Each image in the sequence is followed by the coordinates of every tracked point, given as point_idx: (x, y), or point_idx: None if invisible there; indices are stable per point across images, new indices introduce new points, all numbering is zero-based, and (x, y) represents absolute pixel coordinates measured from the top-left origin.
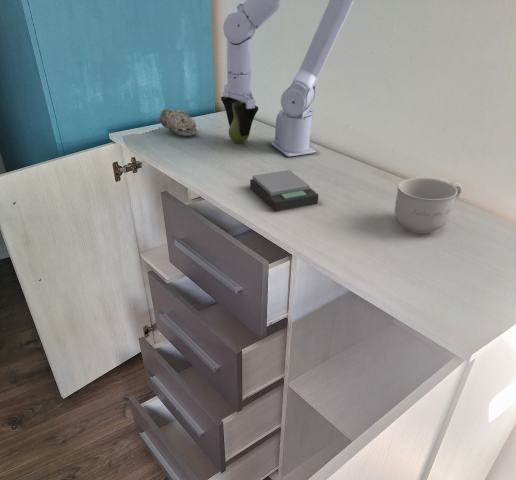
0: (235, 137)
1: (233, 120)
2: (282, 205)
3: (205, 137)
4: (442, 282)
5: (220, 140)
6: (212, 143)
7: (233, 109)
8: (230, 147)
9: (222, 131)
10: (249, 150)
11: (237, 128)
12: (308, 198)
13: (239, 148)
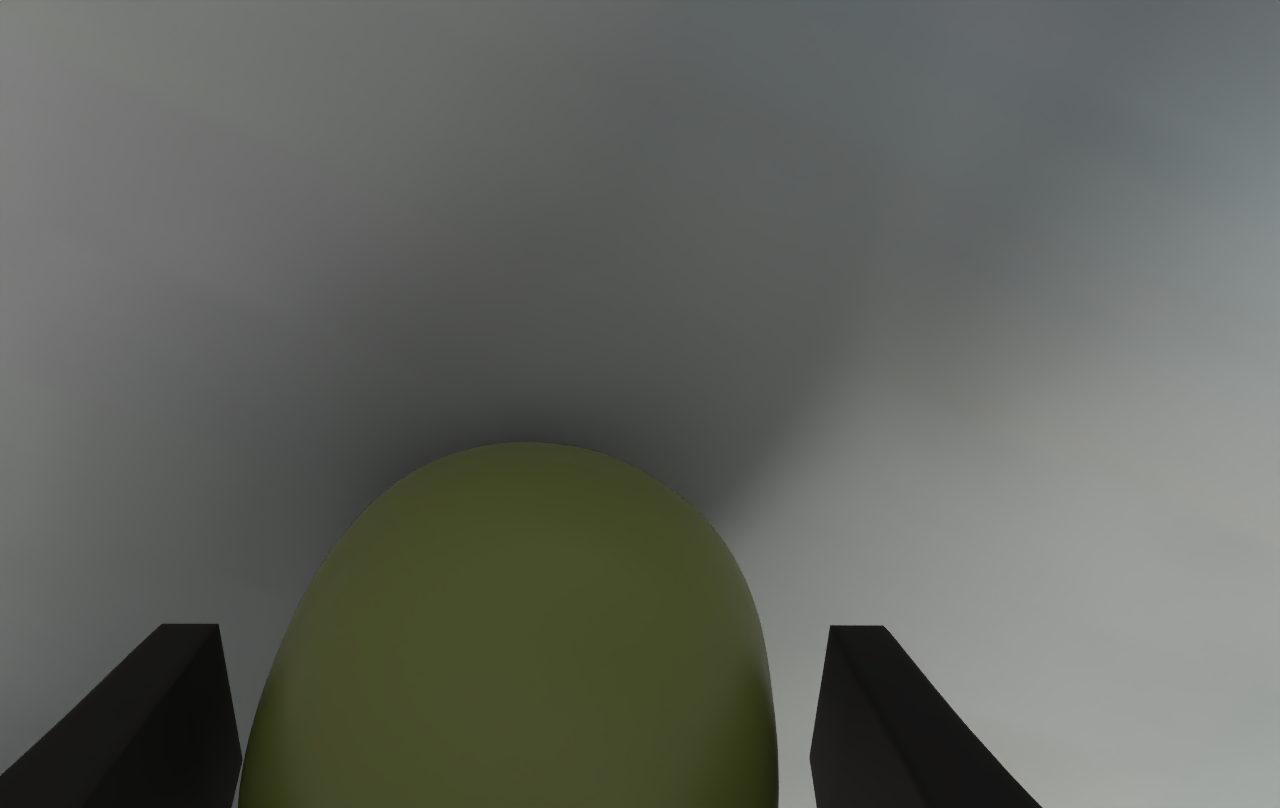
0: (357, 517)
1: (527, 782)
2: None
3: (1137, 44)
4: None
5: (799, 278)
6: (703, 40)
7: None
8: (333, 306)
9: (1229, 498)
10: (86, 553)
11: (289, 688)
12: None
13: (231, 438)
